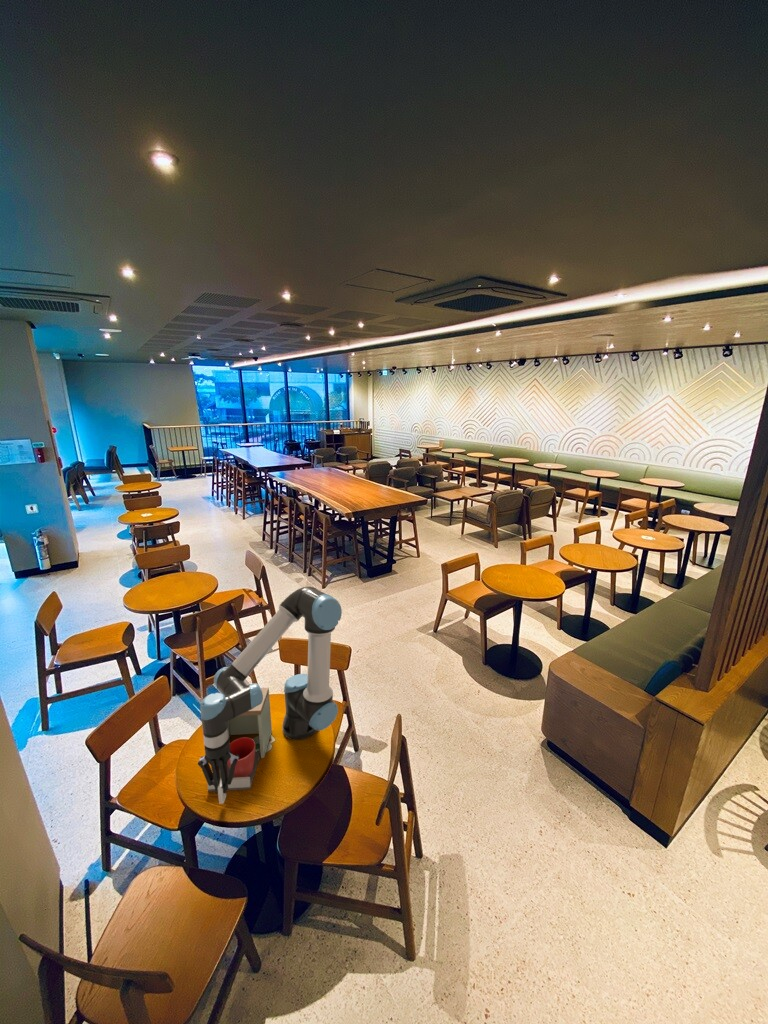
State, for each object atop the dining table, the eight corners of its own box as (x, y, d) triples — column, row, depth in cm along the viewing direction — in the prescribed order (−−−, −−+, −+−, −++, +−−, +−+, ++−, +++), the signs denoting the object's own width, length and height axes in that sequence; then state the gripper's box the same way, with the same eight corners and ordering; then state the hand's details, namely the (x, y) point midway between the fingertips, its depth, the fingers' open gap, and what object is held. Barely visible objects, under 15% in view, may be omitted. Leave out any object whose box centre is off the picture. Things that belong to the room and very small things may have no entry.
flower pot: (220, 779, 143) (218, 757, 141) (238, 755, 154) (236, 734, 151) (246, 785, 141) (244, 763, 139) (262, 761, 151) (261, 739, 149)
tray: (260, 756, 154) (259, 746, 154) (250, 789, 140) (249, 778, 139) (222, 758, 154) (221, 748, 153) (208, 791, 139) (207, 781, 139)
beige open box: (271, 730, 167) (268, 687, 163) (264, 757, 154) (260, 711, 149) (228, 732, 166) (224, 689, 162) (216, 760, 153) (211, 713, 148)
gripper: (240, 730, 133) (245, 788, 138) (200, 732, 132) (207, 790, 137) (233, 748, 125) (239, 809, 130) (191, 750, 125) (198, 811, 130)
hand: (222, 799), depth 134 cm, fingers closed
